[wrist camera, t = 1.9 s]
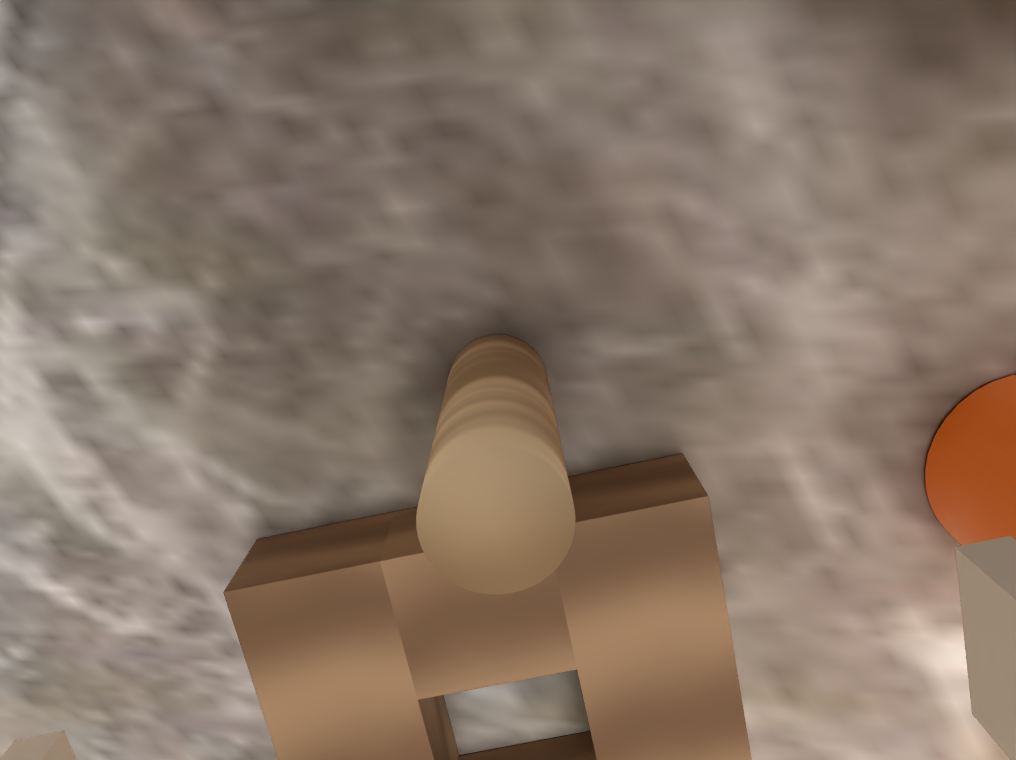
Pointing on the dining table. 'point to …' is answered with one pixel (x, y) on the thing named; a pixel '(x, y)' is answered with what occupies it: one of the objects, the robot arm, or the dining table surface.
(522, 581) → the peg
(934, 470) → the shaker bottle
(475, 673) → the socket block
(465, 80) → the dining table surface
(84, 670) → the dining table surface
